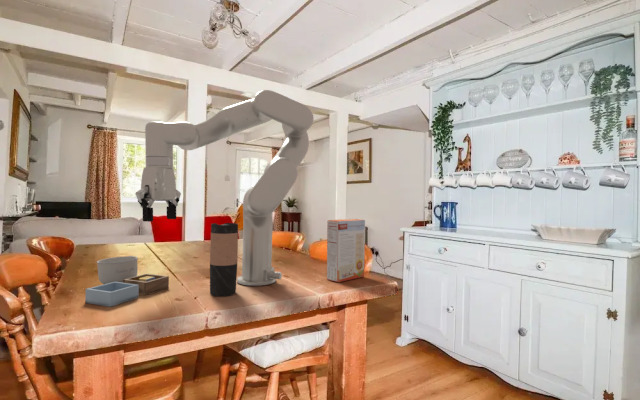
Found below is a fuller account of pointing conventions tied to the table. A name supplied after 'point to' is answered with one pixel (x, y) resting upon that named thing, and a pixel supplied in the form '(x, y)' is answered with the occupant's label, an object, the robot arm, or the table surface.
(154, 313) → the table surface
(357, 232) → the cracker box
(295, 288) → the table surface
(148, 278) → the alphabet block
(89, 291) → the slate box
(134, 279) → the walnut box
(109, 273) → the grey piece
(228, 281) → the travel mug
